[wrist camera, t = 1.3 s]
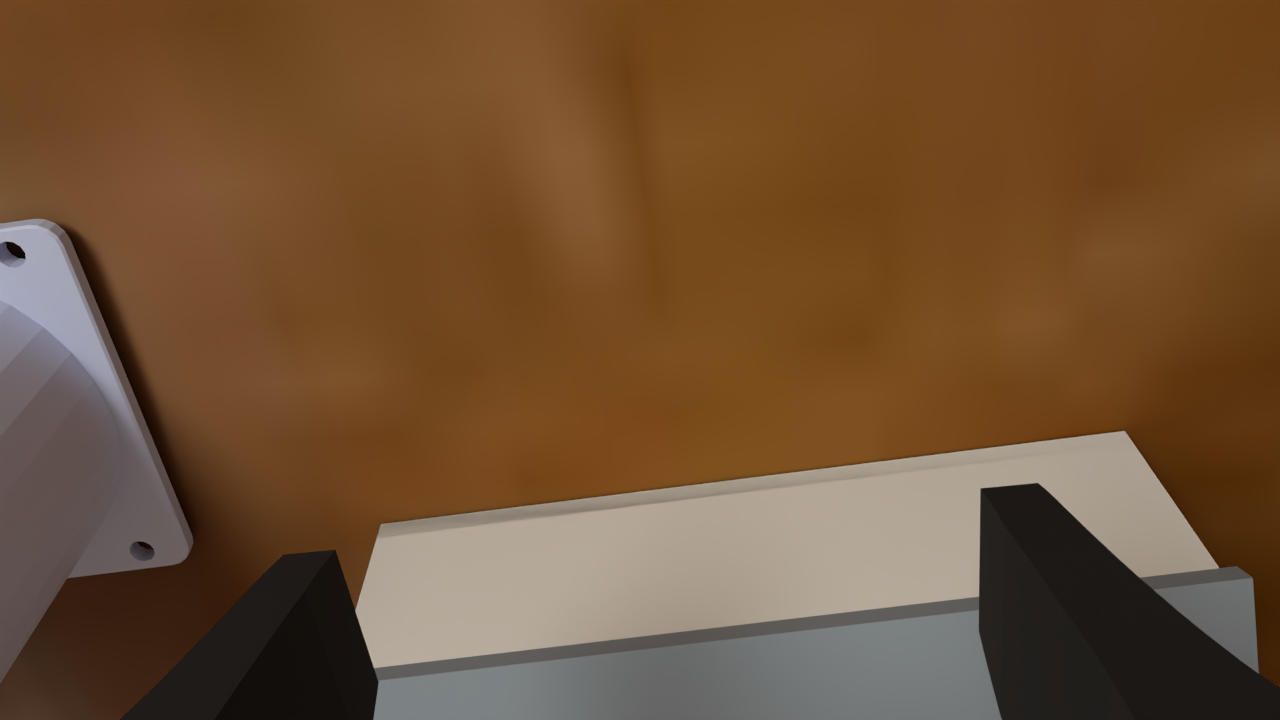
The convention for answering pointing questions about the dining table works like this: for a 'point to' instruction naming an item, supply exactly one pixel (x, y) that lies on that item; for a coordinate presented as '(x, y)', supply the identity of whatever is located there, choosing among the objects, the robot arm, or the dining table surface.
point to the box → (743, 550)
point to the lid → (774, 666)
